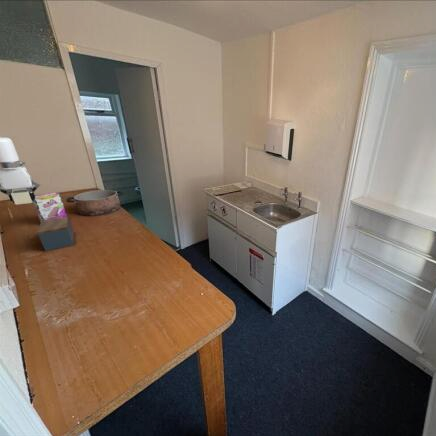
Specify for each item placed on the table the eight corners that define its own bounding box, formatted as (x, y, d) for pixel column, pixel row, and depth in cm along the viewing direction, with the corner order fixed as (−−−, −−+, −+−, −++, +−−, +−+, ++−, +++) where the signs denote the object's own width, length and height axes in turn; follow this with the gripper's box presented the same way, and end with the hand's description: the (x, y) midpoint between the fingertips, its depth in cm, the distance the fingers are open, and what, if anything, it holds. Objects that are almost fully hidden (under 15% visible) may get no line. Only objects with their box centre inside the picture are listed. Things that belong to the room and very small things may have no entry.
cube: (15, 204, 113) (10, 193, 111) (17, 201, 117) (13, 190, 115) (31, 202, 116) (27, 192, 114) (33, 199, 120) (29, 189, 118)
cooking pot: (71, 220, 141) (65, 203, 137) (71, 209, 156) (66, 194, 152) (129, 210, 159) (125, 195, 154) (125, 201, 174) (121, 187, 170)
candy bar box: (45, 225, 133) (33, 198, 127) (41, 223, 135) (29, 196, 129) (69, 218, 143) (59, 193, 136) (65, 217, 144) (55, 192, 138)
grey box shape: (45, 251, 110) (37, 232, 106) (48, 237, 121) (41, 220, 117) (73, 245, 116) (66, 227, 112) (74, 233, 127) (68, 216, 123)
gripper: (36, 162, 117) (49, 196, 124) (-17, 164, 107) (0, 201, 114) (34, 165, 112) (47, 200, 119) (-22, 167, 102) (-4, 206, 109)
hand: (24, 200), depth 116 cm, fingers closed on cube, 5 cm apart
